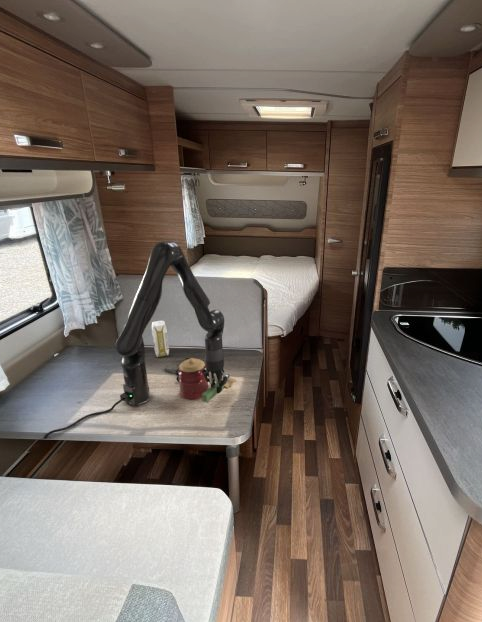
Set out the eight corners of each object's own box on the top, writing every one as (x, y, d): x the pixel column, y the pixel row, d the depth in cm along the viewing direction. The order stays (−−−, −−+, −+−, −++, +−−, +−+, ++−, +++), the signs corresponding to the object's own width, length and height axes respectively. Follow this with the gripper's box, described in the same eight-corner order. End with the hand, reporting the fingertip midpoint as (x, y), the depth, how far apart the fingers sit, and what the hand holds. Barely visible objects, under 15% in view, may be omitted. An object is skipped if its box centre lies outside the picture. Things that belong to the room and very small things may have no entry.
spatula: (210, 403, 139) (209, 396, 138) (199, 399, 142) (198, 393, 140) (236, 381, 155) (235, 375, 154) (226, 378, 158) (225, 372, 156)
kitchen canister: (212, 395, 155) (209, 361, 148) (183, 402, 149) (179, 368, 143) (204, 381, 165) (201, 349, 159) (177, 388, 160) (173, 355, 153)
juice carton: (168, 349, 196) (164, 319, 190) (170, 355, 189) (166, 325, 182) (154, 351, 194) (150, 321, 187) (155, 358, 186) (151, 327, 179)
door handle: (156, 372, 168) (182, 377, 162) (182, 355, 185) (206, 359, 179) (157, 378, 169) (183, 383, 163) (183, 360, 186) (207, 364, 180)
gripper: (195, 356, 141) (198, 391, 147) (222, 364, 135) (224, 400, 141) (207, 349, 147) (209, 383, 153) (233, 356, 141) (234, 391, 147)
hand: (216, 391), depth 147 cm, fingers closed on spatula, 2 cm apart
